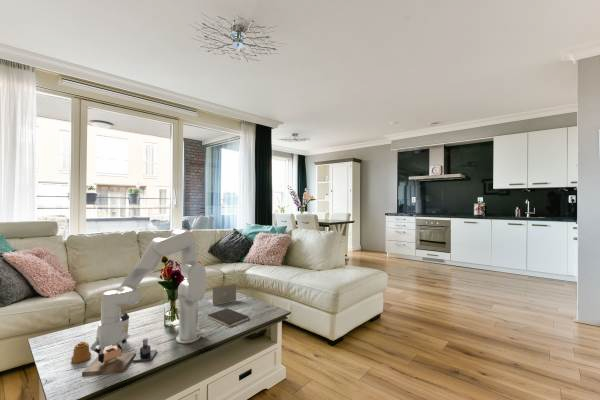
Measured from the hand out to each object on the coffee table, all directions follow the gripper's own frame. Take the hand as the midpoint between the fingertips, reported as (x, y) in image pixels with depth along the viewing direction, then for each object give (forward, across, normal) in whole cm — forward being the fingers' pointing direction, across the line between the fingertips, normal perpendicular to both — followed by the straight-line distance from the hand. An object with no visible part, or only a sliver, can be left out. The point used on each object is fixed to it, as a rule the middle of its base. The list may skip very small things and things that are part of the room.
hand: (110, 358), depth 131 cm
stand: (+3, -13, +6) cm, 14 cm away
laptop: (+3, -86, -30) cm, 91 cm away
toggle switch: (+3, 0, 0) cm, 3 cm away
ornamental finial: (+4, +6, -16) cm, 18 cm away
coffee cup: (+3, -11, -20) cm, 23 cm away
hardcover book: (+4, -67, +1) cm, 67 cm away
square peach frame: (-1, 0, 0) cm, 1 cm away
